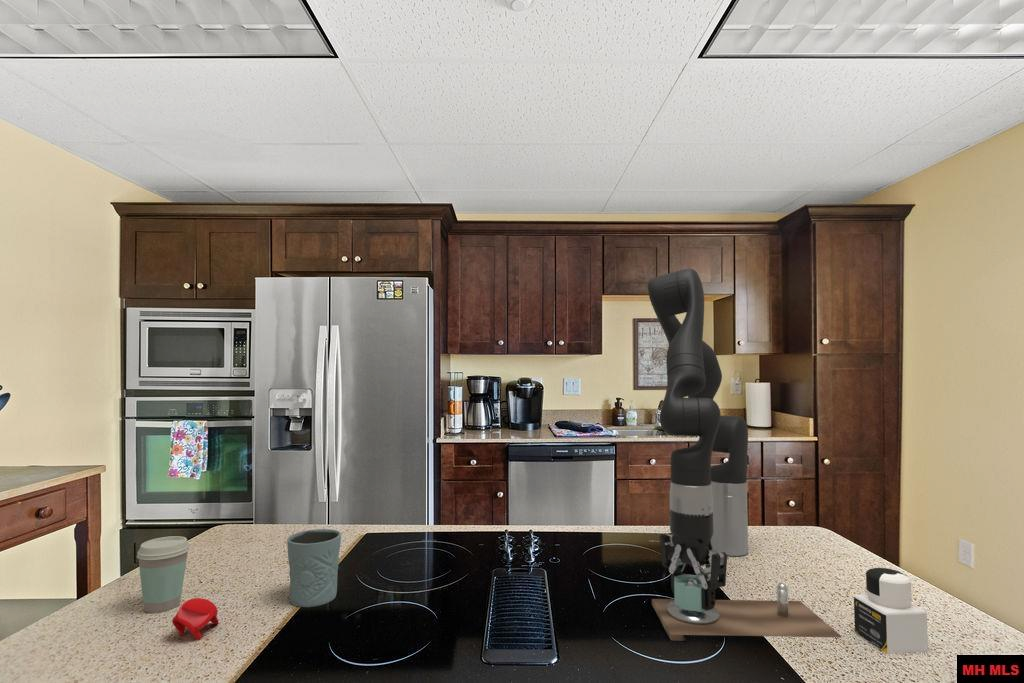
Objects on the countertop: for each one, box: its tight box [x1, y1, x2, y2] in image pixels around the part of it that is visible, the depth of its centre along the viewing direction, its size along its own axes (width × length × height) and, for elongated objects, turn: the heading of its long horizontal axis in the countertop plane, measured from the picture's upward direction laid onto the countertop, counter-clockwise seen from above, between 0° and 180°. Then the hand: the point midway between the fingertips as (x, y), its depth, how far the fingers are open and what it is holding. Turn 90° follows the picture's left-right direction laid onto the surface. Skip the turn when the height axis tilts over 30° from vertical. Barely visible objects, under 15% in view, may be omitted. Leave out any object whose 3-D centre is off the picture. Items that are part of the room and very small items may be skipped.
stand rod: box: [776, 582, 789, 617], centre depth 98 cm, size 2×2×6 cm
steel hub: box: [667, 579, 719, 625], centre depth 98 cm, size 9×9×6 cm
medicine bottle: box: [853, 567, 929, 654], centre depth 88 cm, size 7×7×12 cm
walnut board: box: [651, 598, 843, 642], centre depth 97 cm, size 14×28×1 cm, turn 88°
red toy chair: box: [171, 597, 219, 641], centre depth 93 cm, size 8×6×6 cm
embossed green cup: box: [286, 528, 342, 608], centre depth 107 cm, size 10×10×12 cm
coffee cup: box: [136, 535, 191, 614], centre depth 103 cm, size 8×8×12 cm
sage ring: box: [673, 573, 709, 612], centre depth 98 cm, size 6×6×4 cm
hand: (692, 601), depth 98 cm, fingers open, 6 cm apart
